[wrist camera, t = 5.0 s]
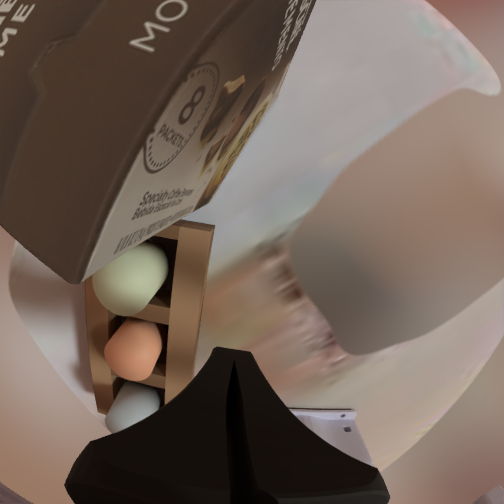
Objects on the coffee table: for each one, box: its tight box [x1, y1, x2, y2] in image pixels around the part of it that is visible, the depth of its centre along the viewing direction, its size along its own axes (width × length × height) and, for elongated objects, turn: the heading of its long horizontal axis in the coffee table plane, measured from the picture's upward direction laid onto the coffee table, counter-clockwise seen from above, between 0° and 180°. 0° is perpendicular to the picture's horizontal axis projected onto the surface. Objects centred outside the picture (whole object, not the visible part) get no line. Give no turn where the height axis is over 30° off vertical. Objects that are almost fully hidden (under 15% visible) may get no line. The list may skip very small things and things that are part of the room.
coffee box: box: [0, 0, 316, 284], centre depth 10 cm, size 9×6×16 cm
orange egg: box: [104, 316, 167, 381], centre depth 18 cm, size 3×3×4 cm
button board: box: [85, 219, 215, 415], centre depth 19 cm, size 17×8×3 cm, turn 169°
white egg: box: [105, 380, 161, 433], centre depth 18 cm, size 3×3×4 cm
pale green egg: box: [92, 240, 169, 316], centre depth 16 cm, size 3×3×4 cm
